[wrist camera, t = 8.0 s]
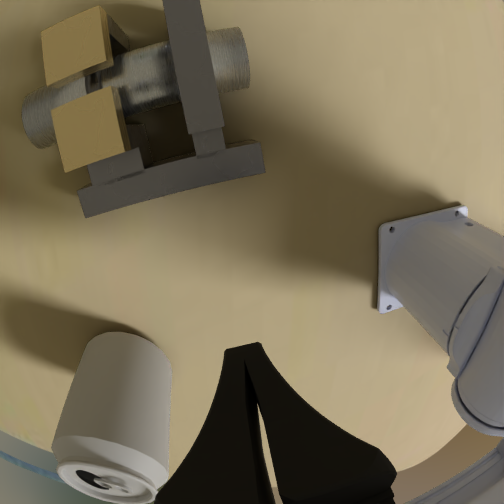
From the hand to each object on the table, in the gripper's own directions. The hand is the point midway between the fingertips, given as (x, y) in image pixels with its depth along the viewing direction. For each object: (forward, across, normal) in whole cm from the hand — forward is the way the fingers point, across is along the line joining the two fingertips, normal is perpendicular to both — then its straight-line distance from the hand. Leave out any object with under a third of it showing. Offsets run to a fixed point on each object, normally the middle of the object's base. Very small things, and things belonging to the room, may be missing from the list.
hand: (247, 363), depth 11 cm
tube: (+10, +3, -12) cm, 16 cm away
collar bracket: (+10, +2, -11) cm, 15 cm away
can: (+10, +10, +7) cm, 16 cm away
